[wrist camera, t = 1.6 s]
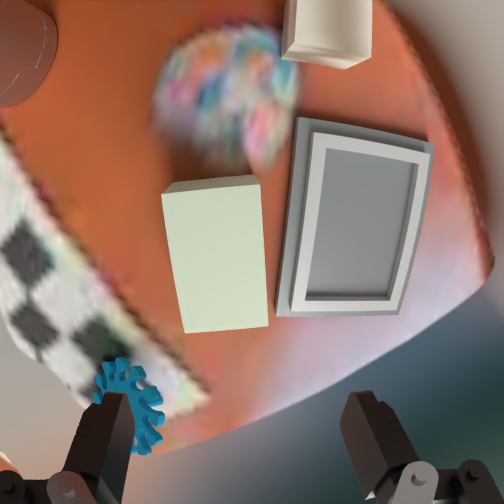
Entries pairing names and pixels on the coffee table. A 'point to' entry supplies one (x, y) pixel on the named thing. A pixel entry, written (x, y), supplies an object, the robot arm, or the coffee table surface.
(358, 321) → the coffee table surface
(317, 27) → the cube
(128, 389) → the gear
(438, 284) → the coffee table surface
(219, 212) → the brick
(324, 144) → the plate
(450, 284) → the coffee table surface
